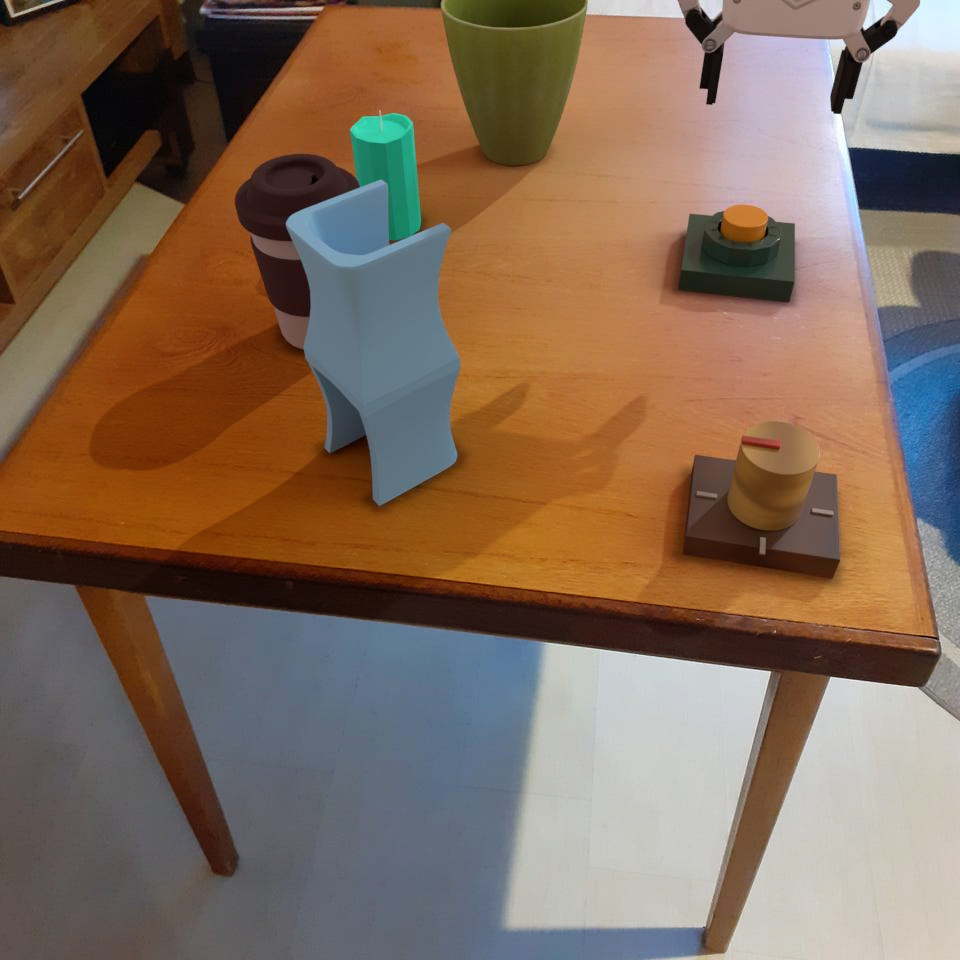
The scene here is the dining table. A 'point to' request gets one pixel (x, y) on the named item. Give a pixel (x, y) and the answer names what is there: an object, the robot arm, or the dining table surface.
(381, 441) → the light blue open shell
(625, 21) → the dining table surface
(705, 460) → the dimmer
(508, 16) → the flower pot
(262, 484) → the dining table surface
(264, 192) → the coffee cup
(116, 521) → the dining table surface
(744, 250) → the switch box
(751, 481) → the knob
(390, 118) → the candle
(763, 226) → the button
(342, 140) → the dining table surface
